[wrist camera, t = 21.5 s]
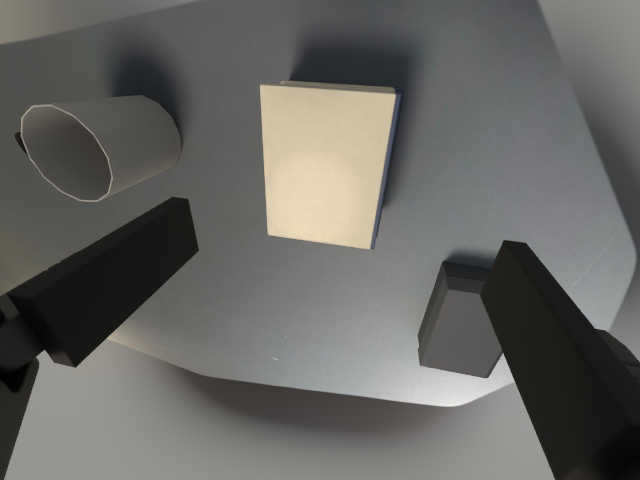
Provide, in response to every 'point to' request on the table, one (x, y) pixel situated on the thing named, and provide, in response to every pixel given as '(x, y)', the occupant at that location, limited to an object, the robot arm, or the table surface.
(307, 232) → the cream book
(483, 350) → the grey stack
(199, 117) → the table surface
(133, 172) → the cup
